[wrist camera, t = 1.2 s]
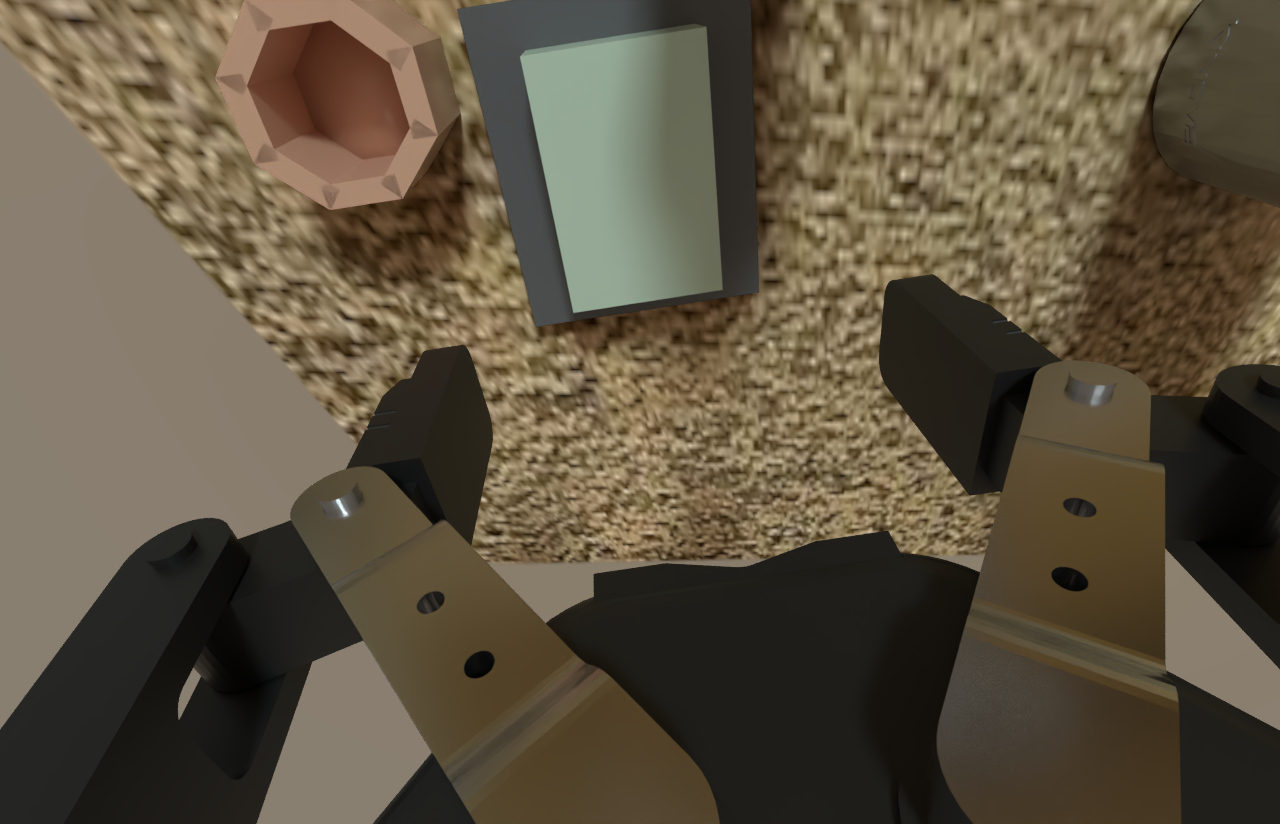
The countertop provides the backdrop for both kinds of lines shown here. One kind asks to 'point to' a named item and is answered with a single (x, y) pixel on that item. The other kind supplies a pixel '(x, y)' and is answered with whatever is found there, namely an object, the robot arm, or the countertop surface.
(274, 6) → the bowl
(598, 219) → the block
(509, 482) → the countertop surface
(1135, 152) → the countertop surface
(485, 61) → the mat
